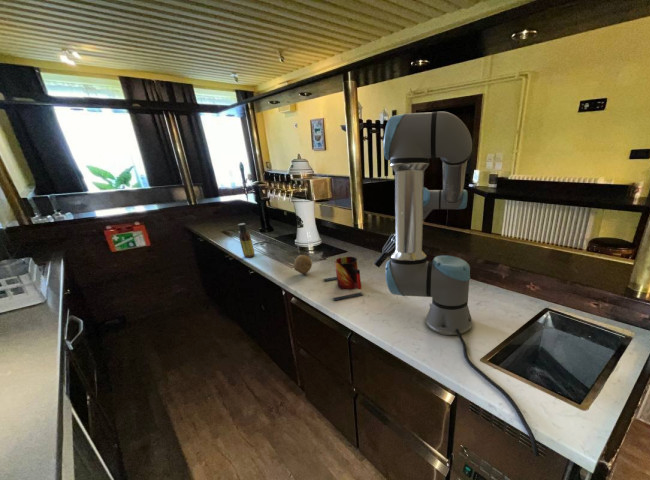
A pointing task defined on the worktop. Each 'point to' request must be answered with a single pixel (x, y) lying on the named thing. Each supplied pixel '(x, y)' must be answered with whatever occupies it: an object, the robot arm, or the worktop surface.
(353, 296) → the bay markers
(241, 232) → the sauce bottle
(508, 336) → the worktop surface
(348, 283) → the mug
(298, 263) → the natural sponge
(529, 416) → the worktop surface
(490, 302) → the worktop surface
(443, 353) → the worktop surface
